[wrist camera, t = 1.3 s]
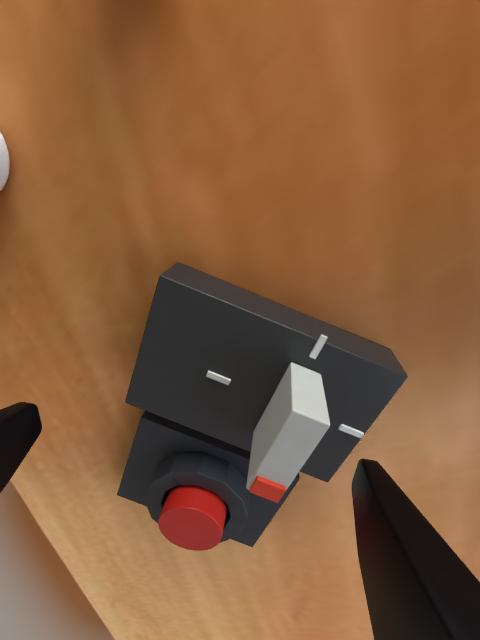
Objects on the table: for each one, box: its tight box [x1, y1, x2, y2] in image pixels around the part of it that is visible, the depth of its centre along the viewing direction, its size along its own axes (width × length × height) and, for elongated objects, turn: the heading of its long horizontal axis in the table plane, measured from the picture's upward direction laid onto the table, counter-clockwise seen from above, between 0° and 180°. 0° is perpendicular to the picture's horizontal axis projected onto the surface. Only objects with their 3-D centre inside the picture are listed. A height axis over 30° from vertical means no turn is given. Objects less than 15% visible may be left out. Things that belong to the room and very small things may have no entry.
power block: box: [117, 410, 299, 547], centre depth 24 cm, size 12×9×4 cm
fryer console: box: [125, 263, 408, 482], centre depth 19 cm, size 14×10×3 cm
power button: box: [159, 485, 226, 550], centre depth 22 cm, size 4×4×2 cm
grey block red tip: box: [246, 362, 330, 503], centre depth 16 cm, size 6×2×4 cm, turn 159°
